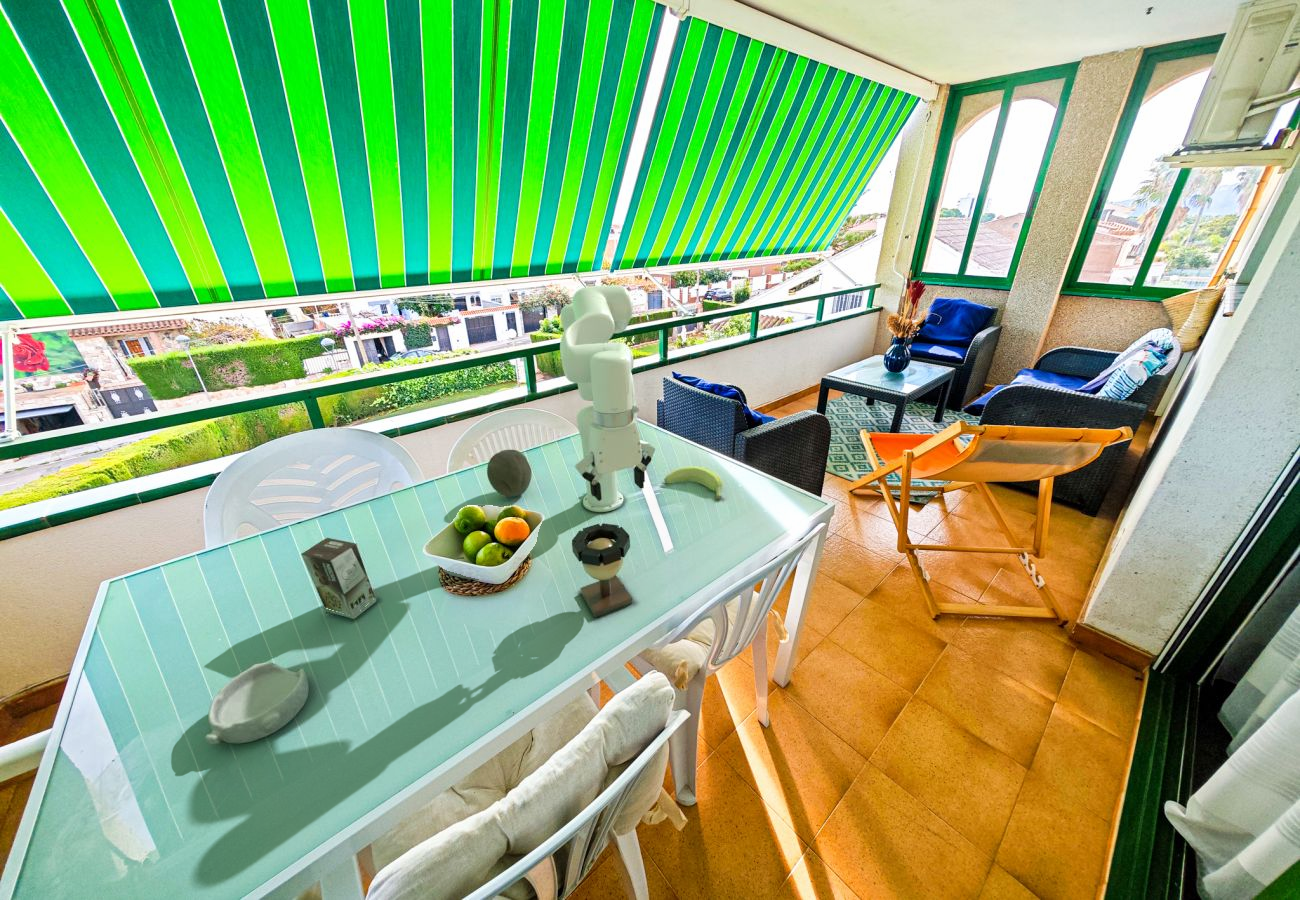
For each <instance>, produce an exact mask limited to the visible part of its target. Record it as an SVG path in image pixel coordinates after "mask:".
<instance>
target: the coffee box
mask: <svg viewBox="0 0 1300 900" xmlns="http://www.w3.org/2000/svg"><path fill="white" fill-rule="evenodd" d="M300 556H301V558H302V560H303V562H304V565H305V566H306V569H307V571H308V574H309V577H310V578H311V580H312V583H313V585H314V588H315V589H316V592H317V594H318V596H319V598H320V601H321V603H322V606H323V608H324V607H325V608H324V611H326V612H327V613H332V614H335V615H338V616H342V617H345V618H349V619H352V620H355V619H357V618H358V617H359V616H360V615H362V614H363V613H364V612H365V611H367V610H368V609H370V607H371V606H372V605H374V604H375V603H376V602H377V598H376V595H375V593H374V589H373V586H372V584H371V581H370V579H369V576H368V572H367V570H366V567H365V564H364V561H363V558H362V556H361V553H360V550H359V548H358V544H357V543H355V542H352V541H351V542H350V541H346V540H341V539H336V538H331V537H326V538H324V539H322V540H321V541H319V542H317V543H315V544H314V545H313V546H311V547H310V548H309V549H307V550H305V551H304V552H301V554H300ZM374 598H375V599H374ZM373 599H374V600H373ZM372 600H373V601H372ZM371 601H372V602H371ZM368 603H369V604H368ZM367 604H368V605H367ZM366 605H367V606H366ZM365 606H366V607H365ZM326 608H328V609H326ZM329 609H331V610H329ZM332 610H334V611H332ZM360 610H361V611H360ZM336 611H338V612H336ZM339 612H341V613H339ZM342 613H344V614H342ZM346 614H347V615H346ZM349 615H350V616H349Z"/></svg>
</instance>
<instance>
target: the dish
mask: <svg viewBox="0 0 1300 900" xmlns="http://www.w3.org/2000/svg"><path fill="white" fill-rule="evenodd" d="M309 688H310V686H309V680H308V677H307V674H306V671H305V670H304V669H303V668H300V669H299V670H298V672H295V671H292V670H289V669H287V668H285V667H282V666H280V665H278V664H276V663H274V662H271V661H267V662H262V663H256V664H252V666H250V667H249V668H248V669H246V670H244V671H242V672H241V673H239V674H238V675H236V676H234V677H233V678H232V679H230V681H229V682H227V683H225V685H224V686H222V687H221V688H220V689H219V691H218V693H217V695H216V696H215V697H213V698H212V700H211V703H210V705H209V709H208V715H207V717H208V718H207V719H208V724H209V726H210V728H211V730H212V731H211V732H210V733H208V734H206V735H205V741H206V742H207V743H208V744H210V745H218V744H220V743H221V742H226V743H229V744H244V743H249V742H250V743H251V742H253V741H257V740H259V739H262V738H263V739H264V738H265V737H268V736H269V735H272V734H273V733H275V732H277V731H279V730H280V729H282V728H283V727H284V726H286V725H287V724H288V723H289V722H291V720H293V719H294V718H295V717H296V716H297V715H298V713H299V712H300V710H301V709H302V708H303V707H304V705H305V704H306V702H307V700H308V697H309V690H310V689H309Z"/></svg>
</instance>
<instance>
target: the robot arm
mask: <svg viewBox="0 0 1300 900" xmlns="http://www.w3.org/2000/svg"><path fill="white" fill-rule="evenodd" d="M633 302H634V301H633V298H632V295H631V293H630V291H629V289H627V287H625V286H624V285H621V284H609V285H593V286H592V285H591V286H583V287H581V288H579V289H578V290H577V291H575V293H574V294H573V296H572V300H571V303H570V304H566V305H565V306H562V308H561V310H560V322H561V327H562V330H563V333H562V335H561V338H560V344H559V351H560V359H561V366H562V367H561V368H562V371H563V374H564V377H565V378H566V379H567V380H568V381H569V382H570V383H573V384H577V389H578V394H579V396H580V398H581V399H582V400H583V401H587V402H592V405H589V406H585V407H583V408H581V409H580V410H579V411H578V412H577V414H576V426H577V429H578V434H579V437H580V442H581V447H582V455H583V458H582V459H581V460H580V461H579V462H577V463H576V464H575V465H574V468H575V469H576V470H577V472H578V473H579V474H580V476H581V477H582V478H583V479H584V480H585V485H586V495H585V496H584V497H583V499H582V504H583V507H584V508H585V509H586V510H588V511H591V512H595V513H606V512H607V513H608V512H610V511H614V510H616V509H618V508H619V507H621V506H622V505H623V503H624V495H623V494H622V493H621V492H620V491H619V488H618V487H619V486H618V474H617V473H618V472H619V471H621V470H625V469H629V468H632V467H633V478H634V481H633V482H634V484H635V485H636V486H637V487H638V489H641V490H642V489H644V488H645V485H644V483H645V482H646V477H645V476H646V475H645V474H646V473H645V472H646V471H647V469H648V465H649V464H650V463H651V462H652V460H653V459H652V457H654V454H655V451H656V448H655V447H654V446H653V445H647V444H643V443H641V442H640V440H641V436H640V431H639V426H638V412H639V410H640V409H639V406H638V405H637V399H636V390H635V389H636V388H635V381H634V376H633V373H632V371H633V369H634V354H633V351H632V349H631V348H630V347H629V346H628V344H626V343H625V342H620V341H615V342H614V341H613V342H612V341H611V342H609V340H611V338H612V337H613V335H614V334H620V333H623V332H624V331H626V329H627V328H628V326H629V323H630V321H631V319H632V316H633V310H634V303H633ZM641 450H643V451H641ZM643 452H645V454H644V455H642V454H643Z"/></svg>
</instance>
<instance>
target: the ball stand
mask: <svg viewBox="0 0 1300 900" xmlns="http://www.w3.org/2000/svg"><path fill="white" fill-rule="evenodd" d="M615 543H616V542H615V541H614V540H611V539H607V538H599V539H595V540H593V541H591V542H589V543H588V545H587V547H588V548H594V549H600V550H601V549H604V548H607V547H610V546H613V545H614V544H615ZM581 564H582V567H583V570H584V571H585V573H586V574H587V575H588V576H589V577H590V578H592V579H594V580H597V581H595V582H593V583H590V584H587V585H585V586H582V587H580V588H579V589H580V594H581V595H582V597H583V599H584V601H585V603H586V604H587V606H588V608H589V610H590V611H591V612H592V615H593V617H594V618H595V619H596V618H599V617H601V616H603V615H606V614H608V613H611V612H615V611H617V610H618V609H621V608H624V607H626V606H629V605H631V604H633V597H632V596H631V594H630V593H629V592H628V590H627V589H626V587H625V586H624V585H623V583H622V582H621V580H620V579H619V578H618V576H617V575H618V573H619V572H620V571H621V569H622V568H623V564H624V557H621V560H619V561H616V562H614V563H611V564H608V565H605V566H604V565H603V564H602V563H601V565H600V566H595V565H589V564H583V563H582V562H581Z"/></svg>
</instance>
